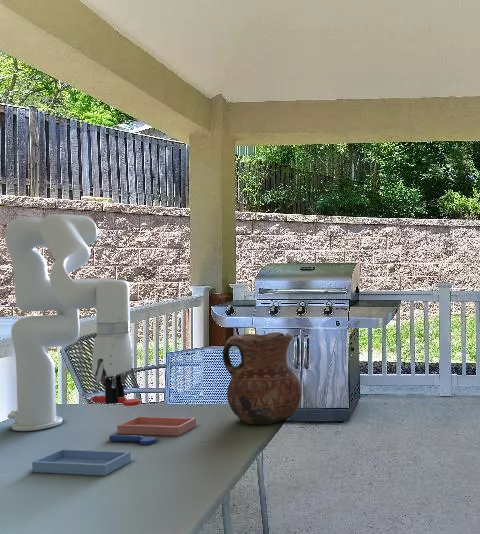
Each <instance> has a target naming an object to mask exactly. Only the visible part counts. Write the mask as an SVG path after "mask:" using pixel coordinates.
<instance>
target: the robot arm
mask: <svg viewBox="0 0 480 534" xmlns="http://www.w3.org/2000/svg"><path fill="white" fill-rule="evenodd" d="M98 233H99V232H98V226H97V224H96V222H95V221H94V220H93V219H92V217H90V216H87V215H85V214H84V215H82V214H63V213H55V214H48V215H46V216H44V217H35V216H33V217H29V216H28V217H17V218H14V219H12V220H10V221H9V222H8V223H7V225H6V228H5V232H4V242H5V246H6V249H7V252H8V255H9V257H10V260H11V264H12V271H13V274H12V275H13V285H14V286H13V288H14V299H15V304H16V307H17V308H18V309H19V310H20V311H22V312H31V313H32V312H46V311H55V312H56V314H46V315H43V314H42V315H33V316H26V317H23V318H19V319H18V320H16V321H15V322H14V323H13V324H12V327H11V329H10V334H11V335H10V336H11V340H12V344H13V349H14V355H15V365H16V366H15V367H16V370H15V371H16V396H17V397H16V398H17V399H16V402H17V409H16V410H14V409H13V410H11V411H10V413H8V414H7V419H14V422H13V423H12V424H11V430H13V431H17V432H33V431H40V430H45V429H49V428H54V427H56V426H59V425H61V424H62V423H63V417H61V416H58V415H57V397H56V392H57V391H56V364H55V360H54V359H53V358H52V356H51V355H50V354H49V353H48V352H47V350H46V349H50V348H58V347H64V346H70V345H73V344H75V343H76V342H77V341H78V340H79V338H80V332H81V325H80V323H81V322H80V312H79V310H82V309H84V310H85V309H96V336H94V341H93V345H92V346H93V348H92V357H91V358H92V359H91V360H92V361H91V365H92V366H91V374H92V376H94V377H96V379H95V381H96V382H97V383H100V384H102V387H103V388H104V396H105V403H104V404H109V405H116V404H117V403H118V397H125V385H126V379H127V378H128V376H129V375H130V374H131V373H132V369H133V366H134V354H133V344H132V343H133V342H132V337H131V312H130V311H131V310H130V309H131V308H130V307H131V306H130V305H131V304H130V303H131V302H130V283H129V282H128V281H127V280H125V279H114V278H111V277H110V278H109V277H99V278H93V277H91V278H72V277H71V276H70V273H71V272H75V271H77V270H78V269H80V268H81V267H83V266H85V265H86V264H87V262H89V260H90V258H91V250H90V248H89V246H90V245H93V244H94V243H95V242H96V240H97V238H98V235H99V234H98ZM36 248H47V249H48V250H49V252H50V254H51V255H52V257H53V259H54V260H55V261H54V262H53V264H52V266H51V269H50V274H49V272H48V262H47V261H46V259H45V257H44V256H43V254H42V253H41V252H40V251H39V250H38V249H36ZM117 405H118V404H117Z"/></svg>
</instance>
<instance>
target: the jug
mask: <svg viewBox="0 0 480 534" xmlns="http://www.w3.org/2000/svg"><path fill="white" fill-rule="evenodd" d="M294 337H295V336H294V334H289V333H287V332H286V333H285V334H284V333H282V332H279V331H275V332H268V333H264V334H255V333H244V334H233V335H231V336H230V337H229V338H227V340H226V342H225V344H224V347H223V349H222V361H223V364H224V367H225V369H226V370H227V372H228V374H229V375H230V377H231V378H230V380H229V383H228V386H227V390H226V399H227V402H228V405H229V407H230V409H231V411H232V412H233V414H234V415H235V416H236V417H237V418H238V419H239V420H240V421H241V422H243V423H244V424H249V425H255V426H256V425H257V426H258V425H261V426H264V425H270V424H275V423H276V424H277V423H281V422H283V421H285V420H288V419H290V418H291V417H292V416H293V415H294V414H295V412H296V411H297V409H298V407H299V405H300V403H301V400H302V394H303V385H302V383H301V380H300V378H299V375H298V374H297V373H296V372H295V370H294V369H293V368H292V367H291V366H290V365H289V363H288V350H289V347H290V345H291V342H292V340H293V339H294ZM232 347H236V348H237V349H238V351H239V354H240V360H241V361H240V363H239V364H237V365H234V364H233V363H232V359H231V355H230V349H232Z"/></svg>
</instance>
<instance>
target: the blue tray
mask: <svg viewBox="0 0 480 534" xmlns="http://www.w3.org/2000/svg"><path fill="white" fill-rule="evenodd" d="M131 459H132V458H131V451H118V450H117V451H115V450H93V449H92V450H91V449H70V448H69V449H68V448H67V449H66V448H60V449H59V450H56V451H54V452H51V453H49V454H47V455H45V456H42V457H40V458H37V459H36V460H33V461H32V462H31V468H32V469H31V473H44V474H46V473H48V474H64V475H65V474H67V475H83V476H84V475H85V476H88V475H89V476H102V477H103V476H107V475H108V474H110V473H113V472H114V471H117V470H119V469H120V468H122V467H123V466H126V465H127V464H129V463H131V462H132V461H131Z"/></svg>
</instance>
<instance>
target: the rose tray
mask: <svg viewBox="0 0 480 534" xmlns="http://www.w3.org/2000/svg"><path fill="white" fill-rule="evenodd" d="M116 427H117V428H116V431H117V435H144V436H145V435H147V436H149V435H150V436H176V437H178V436H180V435H183V434H184V433H186V432H188V431H190V430H192V429H194V428H195V427H197V419H196V418H195V417H171V416H169V417H166V416H135V417H133V418H131V419H129V420H126V421H124V422H121V423H120V424H117V425H116Z"/></svg>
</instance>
